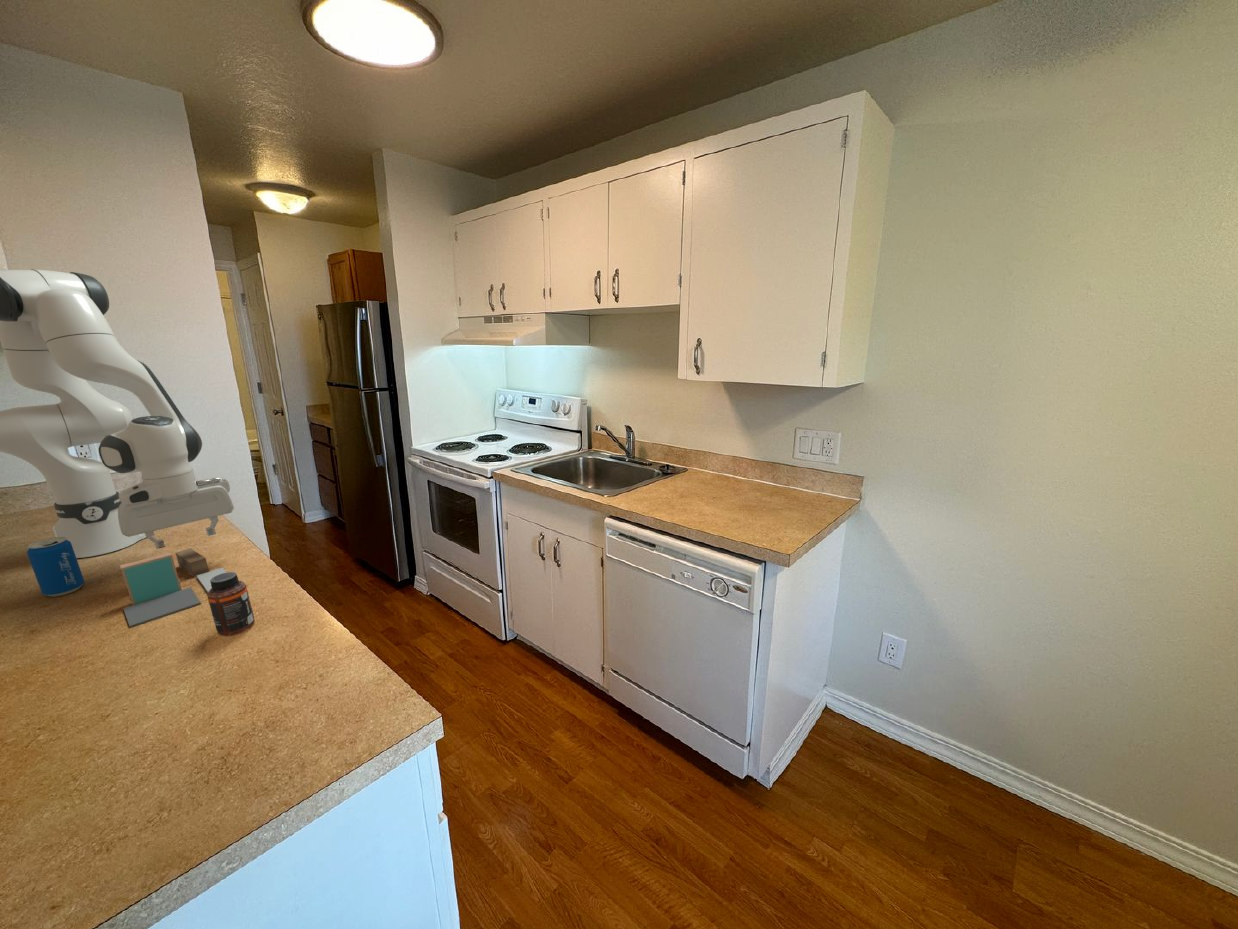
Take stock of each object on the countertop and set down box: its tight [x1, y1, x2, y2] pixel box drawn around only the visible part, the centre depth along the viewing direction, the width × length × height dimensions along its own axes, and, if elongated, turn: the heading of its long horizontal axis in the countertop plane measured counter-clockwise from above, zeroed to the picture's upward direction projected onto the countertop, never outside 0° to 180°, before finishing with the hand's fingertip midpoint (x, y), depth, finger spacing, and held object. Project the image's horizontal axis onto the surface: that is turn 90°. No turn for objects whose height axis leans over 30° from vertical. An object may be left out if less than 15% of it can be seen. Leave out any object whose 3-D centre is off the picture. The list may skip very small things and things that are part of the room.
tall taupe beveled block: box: [175, 548, 210, 578], centre depth 118 cm, size 10×3×4 cm, turn 56°
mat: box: [122, 586, 202, 628], centre depth 103 cm, size 10×11×1 cm
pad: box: [196, 567, 228, 593], centre depth 113 cm, size 12×5×1 cm, turn 50°
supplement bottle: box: [207, 571, 255, 637], centre depth 94 cm, size 6×6×11 cm
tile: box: [119, 552, 183, 605], centre depth 106 cm, size 2×8×9 cm, turn 140°
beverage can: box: [26, 536, 86, 598], centre depth 108 cm, size 6×6×12 cm
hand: (186, 541), depth 116 cm, fingers open, 8 cm apart
